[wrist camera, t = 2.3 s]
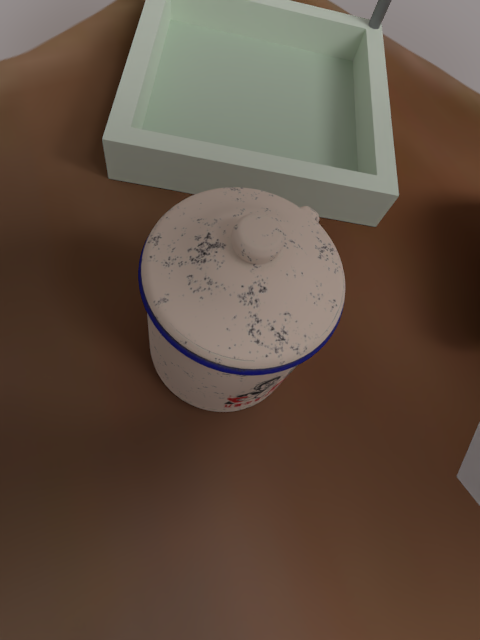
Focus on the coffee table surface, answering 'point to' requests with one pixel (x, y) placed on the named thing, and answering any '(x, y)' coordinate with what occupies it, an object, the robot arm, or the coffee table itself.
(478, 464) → the robot arm
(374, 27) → the mint green square tray
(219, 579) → the coffee table surface
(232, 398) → the teacup with lid
